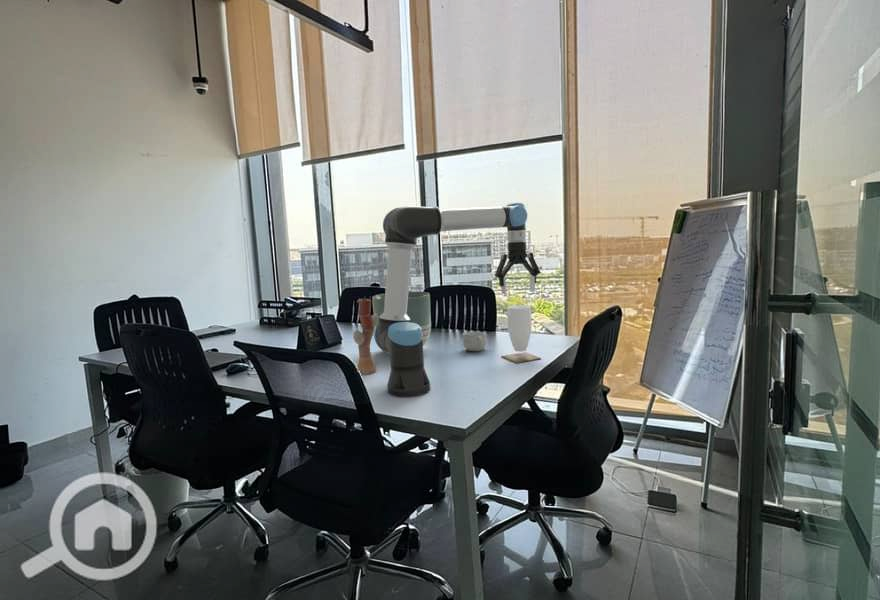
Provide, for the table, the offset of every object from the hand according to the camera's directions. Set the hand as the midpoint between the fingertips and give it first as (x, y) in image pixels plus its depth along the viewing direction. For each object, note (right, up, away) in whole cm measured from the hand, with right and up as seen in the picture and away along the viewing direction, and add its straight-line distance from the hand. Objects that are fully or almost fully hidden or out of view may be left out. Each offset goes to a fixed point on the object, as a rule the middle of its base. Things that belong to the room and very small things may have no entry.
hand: (518, 292), depth 200 cm
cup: (+2, -27, +4) cm, 28 cm away
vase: (-61, -32, -5) cm, 70 cm away
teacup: (-16, -27, +21) cm, 38 cm away
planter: (-49, -28, +27) cm, 62 cm away
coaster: (+2, -28, +4) cm, 28 cm away
